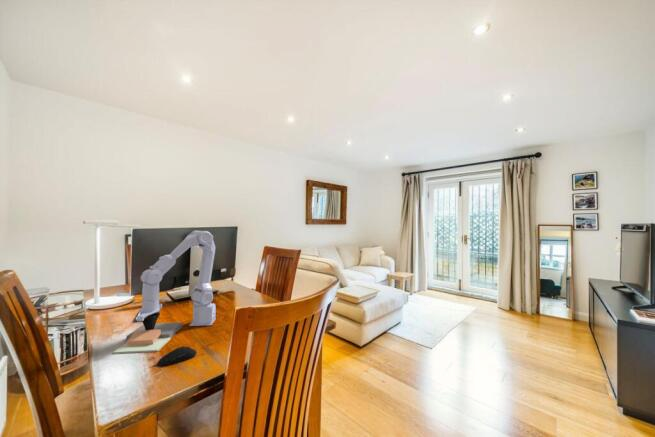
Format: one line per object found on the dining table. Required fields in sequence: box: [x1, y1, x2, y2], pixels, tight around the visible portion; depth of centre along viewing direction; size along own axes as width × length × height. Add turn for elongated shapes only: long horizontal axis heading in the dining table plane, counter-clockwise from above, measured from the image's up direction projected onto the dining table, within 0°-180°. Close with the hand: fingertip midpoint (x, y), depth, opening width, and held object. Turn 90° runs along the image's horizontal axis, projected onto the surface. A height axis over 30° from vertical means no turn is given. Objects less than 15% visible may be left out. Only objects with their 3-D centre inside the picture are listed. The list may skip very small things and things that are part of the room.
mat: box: [112, 337, 172, 355], centre depth 96 cm, size 15×10×1 cm, turn 98°
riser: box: [126, 322, 183, 342], centre depth 107 cm, size 16×12×2 cm
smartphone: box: [134, 310, 160, 323], centre depth 127 cm, size 9×2×16 cm
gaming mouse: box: [149, 345, 198, 368], centre depth 87 cm, size 6×15×4 cm, turn 132°
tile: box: [126, 329, 161, 345], centre depth 99 cm, size 9×6×2 cm, turn 98°
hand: (149, 332), depth 102 cm, fingers closed
